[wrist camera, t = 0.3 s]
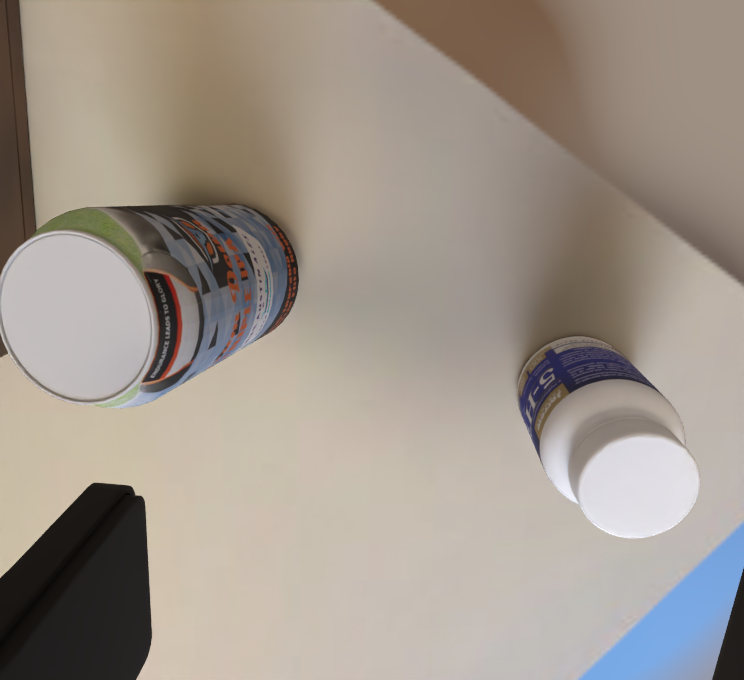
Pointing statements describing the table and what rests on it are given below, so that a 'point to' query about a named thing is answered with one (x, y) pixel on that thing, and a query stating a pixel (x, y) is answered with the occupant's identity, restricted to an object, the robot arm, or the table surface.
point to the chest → (13, 142)
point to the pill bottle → (607, 437)
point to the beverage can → (142, 297)
